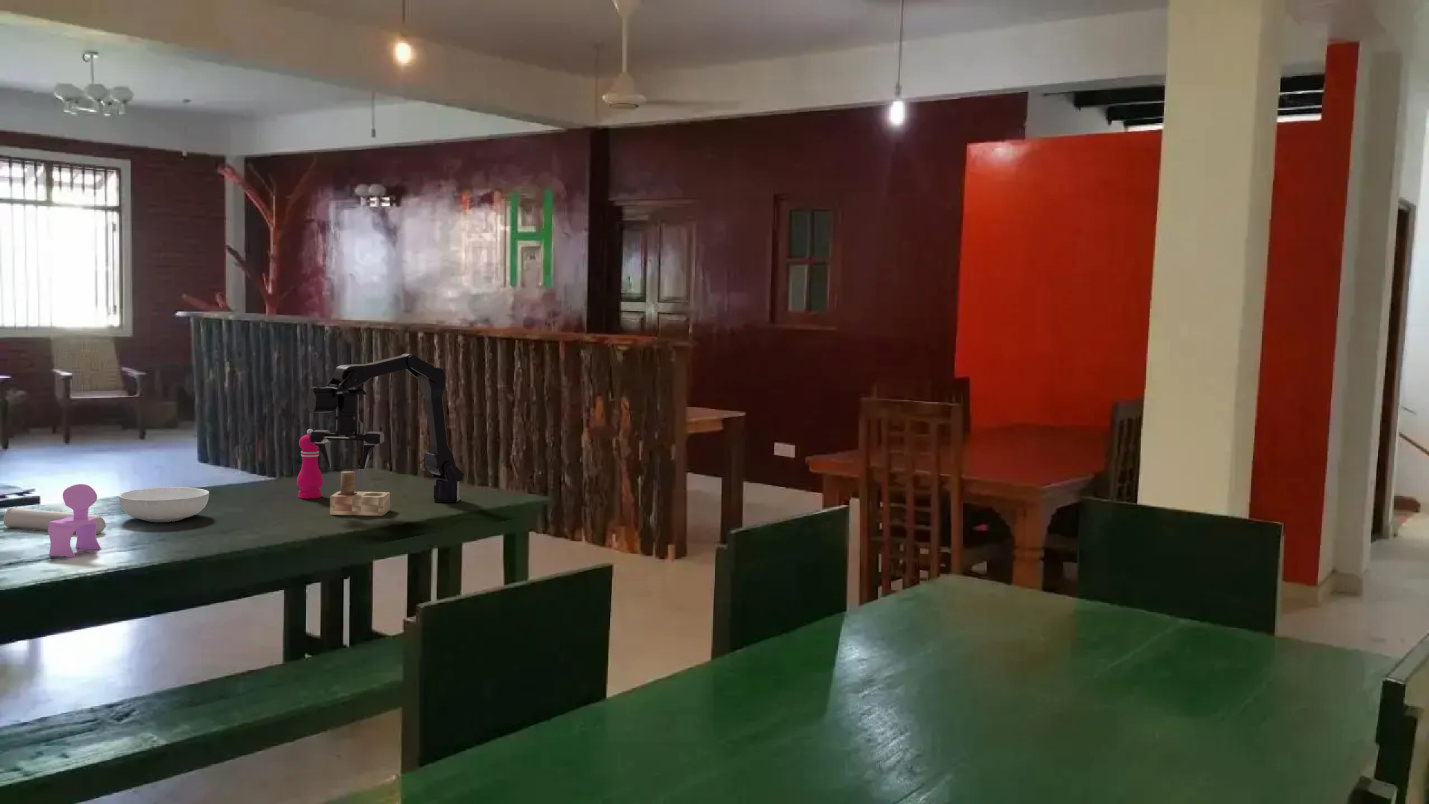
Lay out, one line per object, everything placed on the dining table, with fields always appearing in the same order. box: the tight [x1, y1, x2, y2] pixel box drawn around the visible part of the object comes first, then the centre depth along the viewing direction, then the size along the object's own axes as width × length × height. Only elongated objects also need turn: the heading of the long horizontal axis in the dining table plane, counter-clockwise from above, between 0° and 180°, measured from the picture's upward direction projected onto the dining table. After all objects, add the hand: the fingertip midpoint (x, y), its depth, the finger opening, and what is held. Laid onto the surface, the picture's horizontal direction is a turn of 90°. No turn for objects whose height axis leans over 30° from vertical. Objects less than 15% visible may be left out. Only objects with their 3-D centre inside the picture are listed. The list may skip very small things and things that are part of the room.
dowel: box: [340, 470, 356, 496], centre depth 298 cm, size 4×4×10 cm
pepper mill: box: [296, 428, 324, 500], centre depth 318 cm, size 7×7×20 cm
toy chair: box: [47, 483, 102, 558], centre depth 242 cm, size 8×9×15 cm
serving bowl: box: [118, 486, 210, 523], centre depth 281 cm, size 21×21×7 cm
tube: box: [3, 506, 107, 535], centre depth 263 cm, size 5×5×25 cm
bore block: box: [329, 490, 391, 517], centre depth 298 cm, size 14×8×5 cm, turn 94°
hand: (346, 468), depth 297 cm, fingers open, 9 cm apart
